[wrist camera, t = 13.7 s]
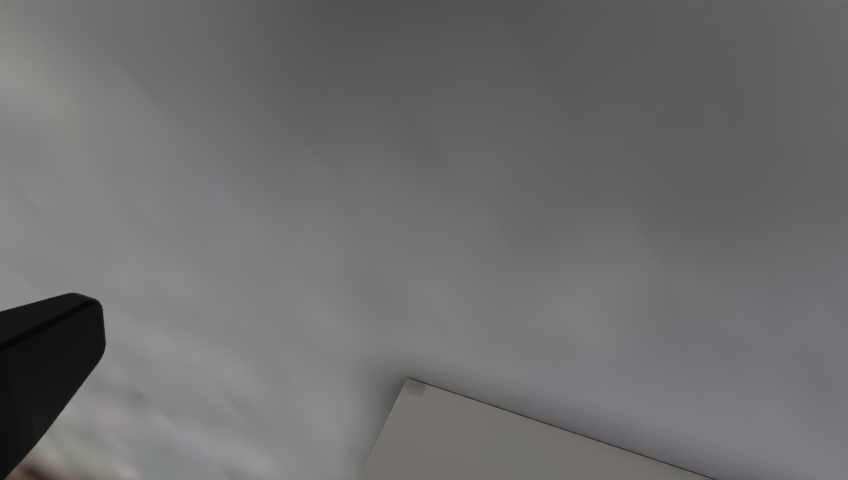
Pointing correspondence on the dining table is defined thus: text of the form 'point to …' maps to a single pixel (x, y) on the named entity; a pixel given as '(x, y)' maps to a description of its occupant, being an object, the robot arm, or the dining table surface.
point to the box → (493, 445)
